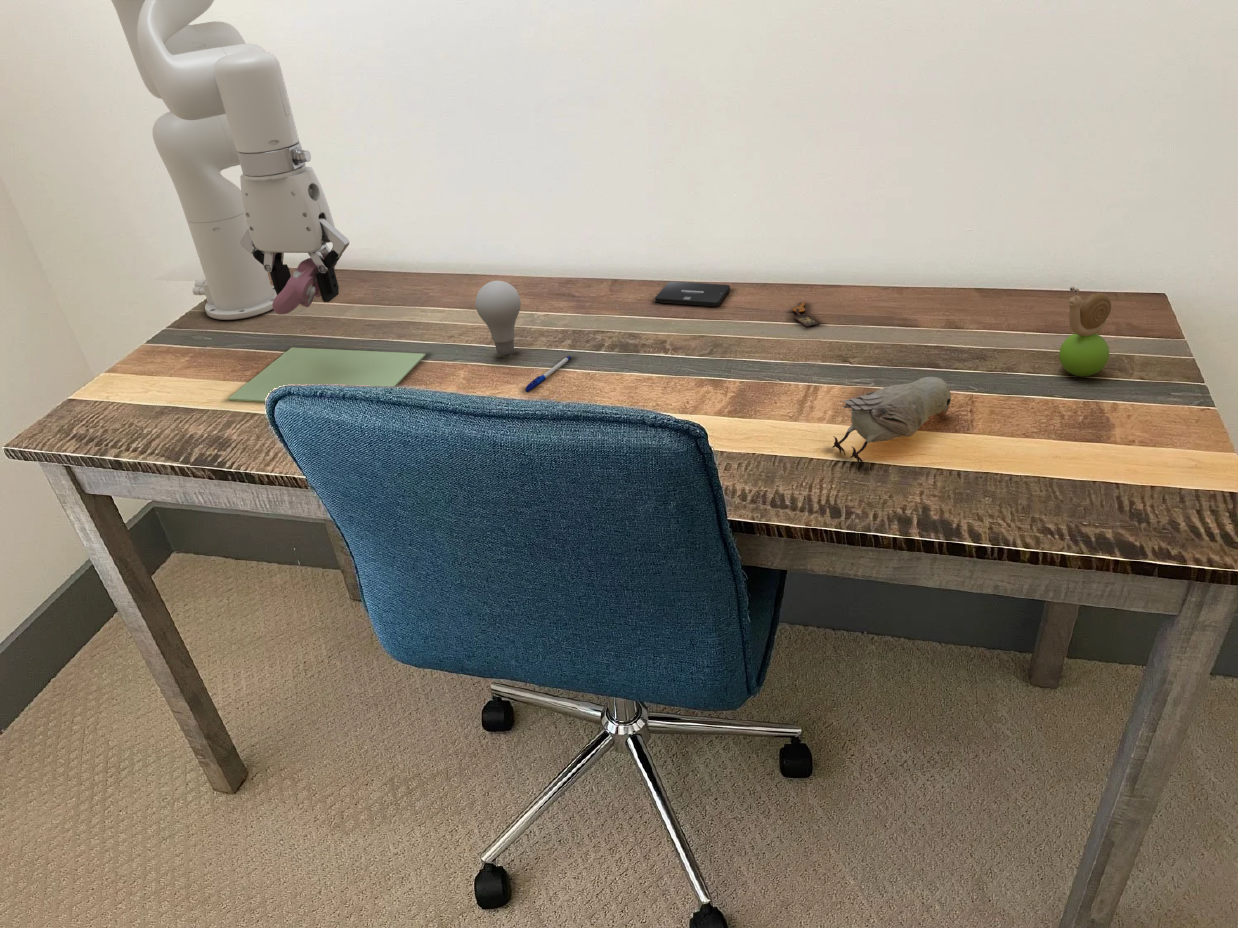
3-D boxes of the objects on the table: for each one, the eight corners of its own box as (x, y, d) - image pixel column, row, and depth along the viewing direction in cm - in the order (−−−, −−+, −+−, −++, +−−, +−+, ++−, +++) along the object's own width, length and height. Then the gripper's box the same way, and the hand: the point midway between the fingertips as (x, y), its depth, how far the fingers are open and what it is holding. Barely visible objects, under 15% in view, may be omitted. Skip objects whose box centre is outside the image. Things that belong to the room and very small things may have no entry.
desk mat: (228, 400, 131) (228, 398, 131) (292, 349, 144) (291, 347, 144) (373, 409, 125) (373, 407, 125) (426, 355, 138) (425, 353, 138)
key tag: (821, 325, 135) (821, 321, 135) (800, 328, 135) (800, 324, 135) (804, 303, 142) (804, 299, 142) (784, 305, 142) (784, 302, 142)
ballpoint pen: (530, 394, 125) (529, 387, 125) (524, 392, 126) (523, 386, 125) (571, 360, 133) (571, 353, 132) (566, 359, 133) (565, 352, 133)
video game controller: (301, 327, 125) (310, 281, 121) (268, 312, 125) (277, 266, 121) (334, 298, 133) (344, 254, 129) (304, 284, 133) (313, 240, 129)
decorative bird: (962, 425, 110) (969, 366, 106) (858, 473, 103) (862, 412, 99) (926, 407, 114) (932, 350, 110) (823, 453, 107) (826, 394, 103)
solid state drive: (717, 306, 144) (717, 302, 143) (654, 302, 147) (654, 298, 147) (730, 289, 149) (730, 285, 149) (669, 285, 153) (669, 281, 152)
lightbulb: (535, 349, 137) (525, 275, 131) (514, 368, 132) (502, 292, 126) (499, 344, 139) (487, 272, 133) (476, 362, 134) (463, 288, 129)
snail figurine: (1039, 373, 119) (1055, 280, 112) (1080, 360, 121) (1097, 269, 114) (1073, 390, 114) (1091, 295, 108) (1114, 377, 116) (1134, 283, 110)
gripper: (349, 151, 120) (380, 288, 129) (230, 154, 124) (268, 286, 134) (317, 168, 114) (352, 310, 123) (194, 170, 118) (237, 307, 128)
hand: (308, 296), depth 128 cm, fingers closed on video game controller, 6 cm apart
